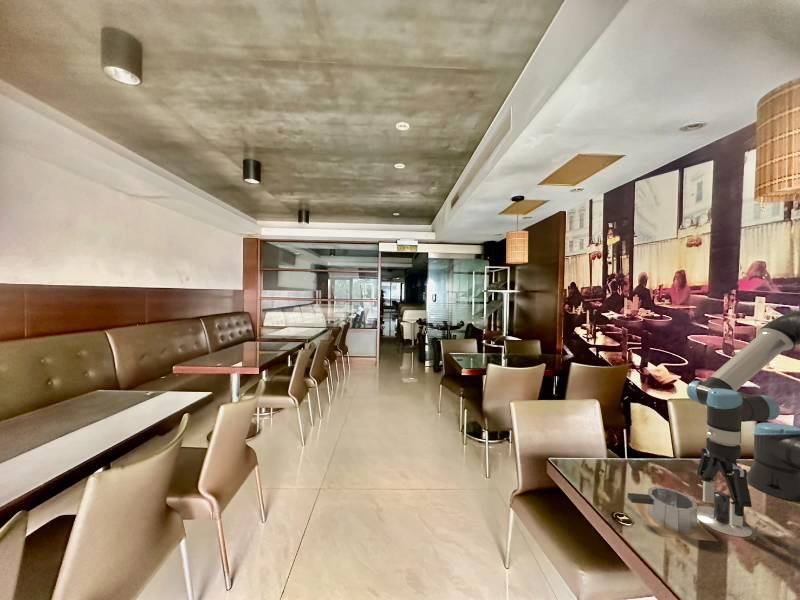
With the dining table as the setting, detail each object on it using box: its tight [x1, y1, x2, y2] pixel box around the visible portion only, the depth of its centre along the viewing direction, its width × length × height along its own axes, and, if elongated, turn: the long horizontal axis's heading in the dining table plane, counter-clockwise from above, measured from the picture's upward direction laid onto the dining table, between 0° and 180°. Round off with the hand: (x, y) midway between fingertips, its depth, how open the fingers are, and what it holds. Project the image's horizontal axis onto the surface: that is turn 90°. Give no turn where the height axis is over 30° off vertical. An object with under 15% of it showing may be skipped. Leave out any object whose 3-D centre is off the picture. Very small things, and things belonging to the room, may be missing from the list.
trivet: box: [631, 502, 718, 542], centre depth 102 cm, size 15×15×1 cm
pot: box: [627, 486, 698, 535], centre depth 102 cm, size 18×12×7 cm, turn 81°
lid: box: [697, 491, 753, 538], centre depth 101 cm, size 13×13×9 cm
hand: (721, 512), depth 101 cm, fingers open, 10 cm apart
